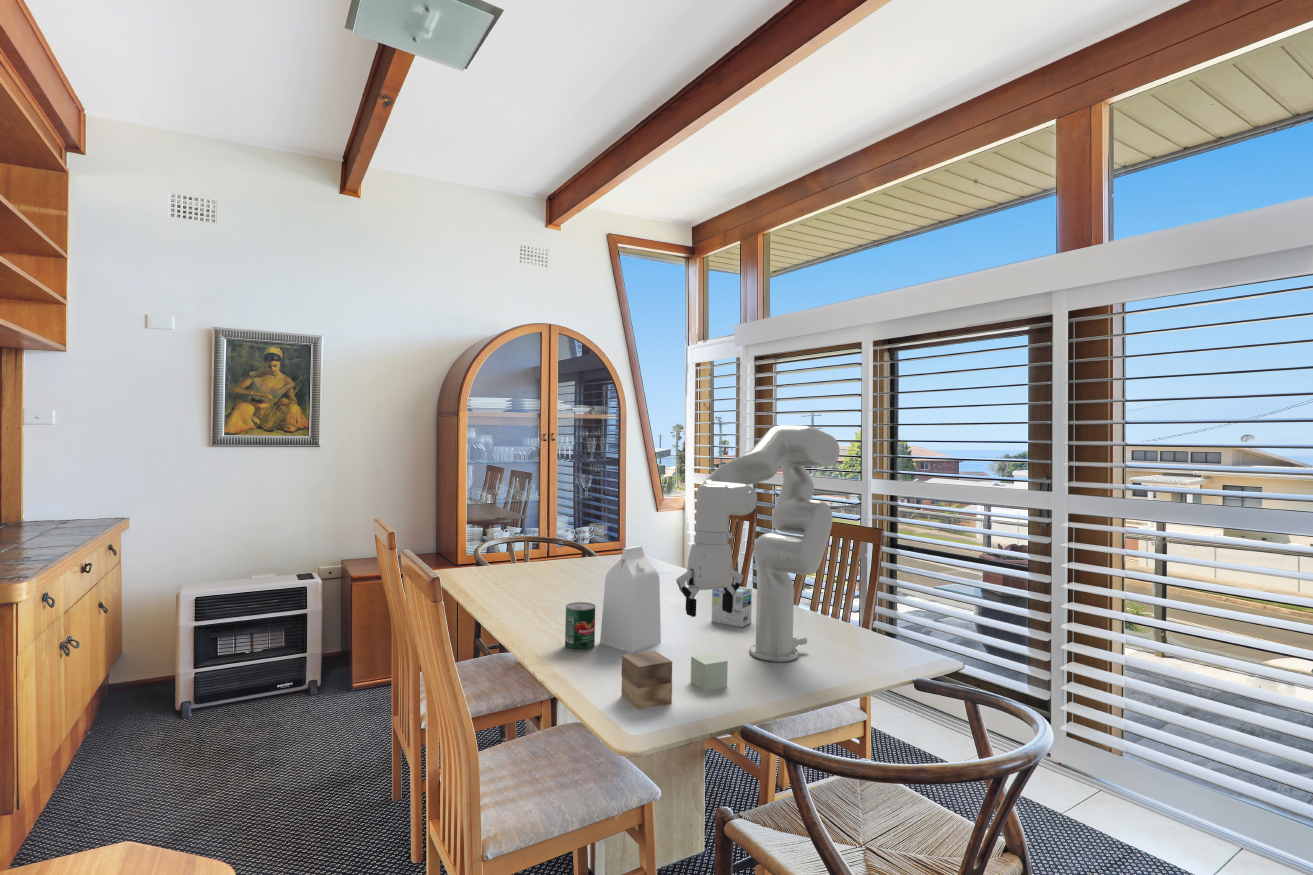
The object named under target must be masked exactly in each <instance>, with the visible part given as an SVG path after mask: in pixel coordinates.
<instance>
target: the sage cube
mask: <svg viewBox="0 0 1313 875" xmlns="http://www.w3.org/2000/svg"><path fill="white" fill-rule="evenodd" d="M728 668H729V667H728V660H727V659H725V658H723V657H722V656H719V655H717V654H716V653H714V652H711V653H704V654H698V655H691V657H690V683H691V684H693V685H694V686H696V687H697V688H699V689H701V690H702V691H704V692H707V691H712V690H717V689H724V688H727V687H728Z"/></svg>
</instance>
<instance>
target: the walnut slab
mask: <svg viewBox="0 0 1313 875" xmlns="http://www.w3.org/2000/svg"><path fill="white" fill-rule="evenodd" d="M620 673H621V674H620V675H621V678H622V677H623V678H625V679H626V680H627V681H629V682H630V683H631V684H633V685H634V686H635V687H637V688H638V689H639V688H645V687H650V686H656V685H662V684H667V683H672V684H673V661H672V660H671V659H669V658H668V657H666V656H664V655H663V654H661V653H659V652H658V651H656V650H648V651H643V652H642V651H641V652H633V653H628V654H623V655H621V672H620Z"/></svg>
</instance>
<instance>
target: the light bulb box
mask: <svg viewBox="0 0 1313 875" xmlns="http://www.w3.org/2000/svg"><path fill="white" fill-rule="evenodd" d="M711 590H712V591H711V623H717V624H723V625H727V626H734V627H737V628H738V627H740V628H743V627H746V626H747V625H749V624H751V623H752V604H753V602H752V596H753V595H752V592H753V589H752V587H744V586H740V587H739V588H738V589H737V591H736V594H735V595H734V596H733V608H732V613H728V612H725V611H723V610H722V599H723V593H725V591H724V590H723V588H721V589H711Z"/></svg>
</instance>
